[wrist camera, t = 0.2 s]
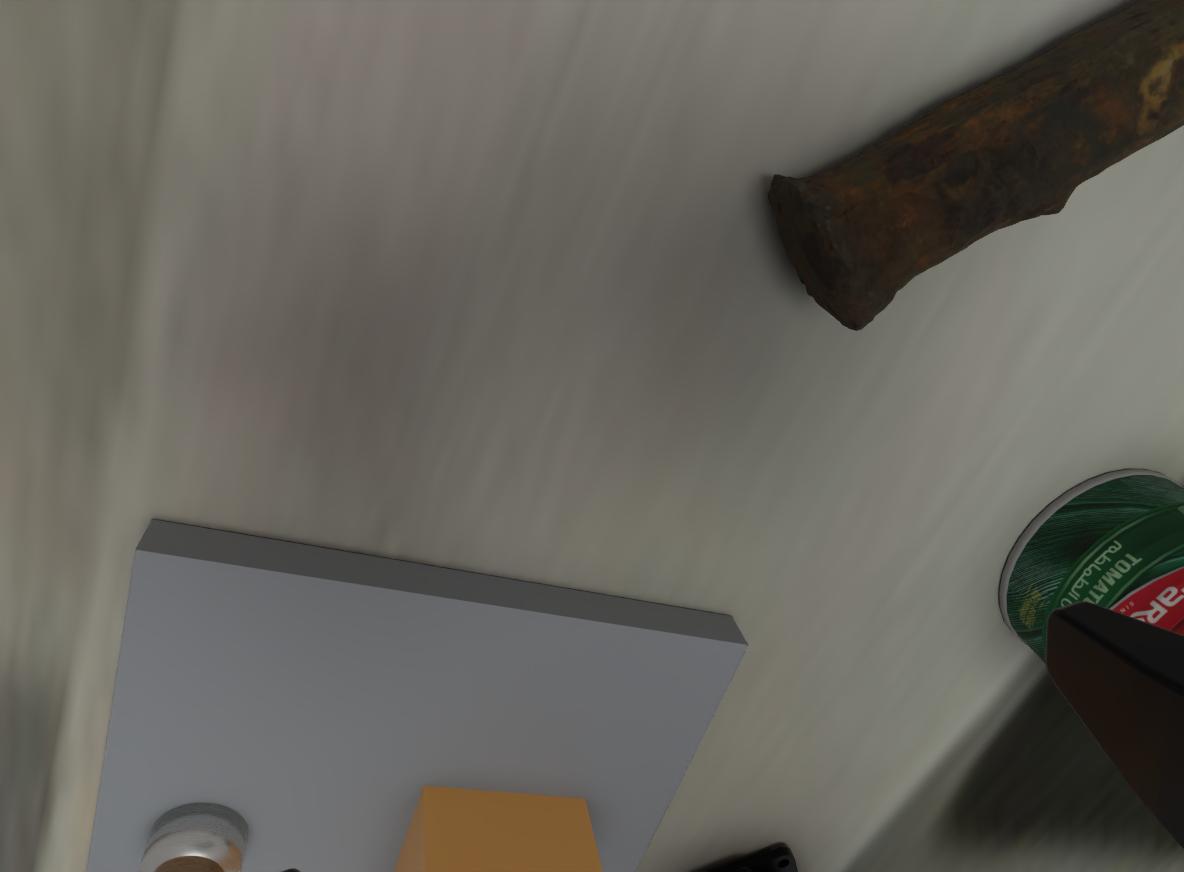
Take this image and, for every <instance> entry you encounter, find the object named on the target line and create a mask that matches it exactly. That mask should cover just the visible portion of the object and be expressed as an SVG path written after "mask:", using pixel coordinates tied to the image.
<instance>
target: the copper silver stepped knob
mask: <svg viewBox="0 0 1184 872" xmlns="http://www.w3.org/2000/svg"><path fill="white" fill-rule="evenodd" d="M248 837H249V828H248V825H247V823H246V821H245V820H244V818H243V817H242V816H241V815H240V814H239V813H237V812H236V811H234V810H233V809H231V808H228V807H226V806H223V805H219V804H215V803H204V802H202V803H190V804H185V805H182V806H178V807H176V808H173V809H171V810H169V811H168V812H166V813H164V814H163V815H162V816H161V817H160V818H158V820H157V821H156V822H155V823H154V825H153V827H152V830H151V832H150V835H149V838H148V842H147V845H146V848H145V851H144V854H143V857H142V860H141V863H140V866H139V869H138V872H242V867H243V862H244V857H245V852H246V847H247V842H248Z"/></svg>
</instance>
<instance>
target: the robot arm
mask: <svg viewBox="0 0 1184 872" xmlns="http://www.w3.org/2000/svg"><path fill="white" fill-rule="evenodd" d="M1045 660H1046V666H1047V670H1048V672H1049V675H1050V677H1051V679H1052V680H1053V682H1054V683H1055V685H1056V686H1057V688H1058V689H1059V690H1060V692H1061V693H1062V694H1063V696H1064V697H1065V698H1066V700H1067V701H1068V703H1069V704H1070V705H1071V707H1072V708H1073V709H1074V711H1075V712H1076V713H1077V715H1078V716H1079V718H1080V719H1081V720H1082V722H1083V723H1084V724H1085V726H1086V727H1087V729H1088V730H1089V731H1090V733H1091V734H1092V735H1093V737H1094V738H1095V739H1096V741H1097V742H1098V744H1099V745H1100V746H1101V748H1102V749H1103V750H1104V752H1105V753H1106V754H1107V756H1108V757H1109V759H1110V760H1111V761H1112V763H1113V764H1114V765H1115V767H1116V768H1117V770H1118V771H1119V772H1120V774H1121V775H1122V776H1123V778H1124V779H1125V780H1126V782H1127V783H1128V784H1129V785H1130V787H1131V788H1132V789H1133V791H1134V792H1135V793H1136V794H1137V796H1138V797H1139V798H1140V799H1141V801H1142V802H1143V803H1144V804H1145V805H1146V806H1147V808H1148V809H1149V810H1150V811H1151V812H1152V813H1153V815H1154V816H1155V817H1156V818H1157V819H1158V820H1159V821H1160V823H1161V824H1162V825H1163V826H1164V827H1165V828H1166V829H1167V830H1168V832H1169V833H1170V834H1171V835H1172V836H1173V837H1174V838H1175V839H1176V841H1177V842H1178V843H1179V844H1180V845H1181V846H1182V847H1183V848H1184V636H1183V635H1180V634H1178V633H1175V632H1172V631H1169V630H1166V629H1164V628H1161V627H1158V626H1155V625H1152V624H1150V623H1147V622H1144V621H1141V620H1138V619H1136V618H1133V617H1130V616H1127V615H1124V614H1122V613H1119V612H1116V611H1113V610H1110V609H1108V608H1105V607H1102V606H1099V605H1096V604H1094V603H1090V602H1085V601H1079V602H1075V603H1072V604H1069V605H1066V606H1063V607H1060V608H1057V609H1054V610H1053V611H1051V612H1050V614H1049V616H1048V618H1047V632H1046V657H1045ZM281 872H300V871H299V870H298V869H295V868H290V869H287V870H284V871H281ZM715 872H798V870H797V866H796V862H795V858H794V856H793V854H792V852H791V850H790V849H789V848H788V847H783V846H782V847H778V848H775V849H773V850H770V851H767V852H765V853H762V854H760V855H757V856H754V857H752V858H749V859H747V860H744V861H741V862H739V863H736V864H734V865H731V866H728V867H726V868H723V869H721V870H718V871H715Z"/></svg>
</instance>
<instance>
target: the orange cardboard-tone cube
mask: <svg viewBox="0 0 1184 872" xmlns="http://www.w3.org/2000/svg"><path fill="white" fill-rule="evenodd" d="M394 872H602V867H601V863H600V859H599V855H598V850H597V846H596V842H595V838H594V834H593V829H592V825H591V821H590V817H589V812H588V808H587V804H586V800H585V798H572V797H560V796H547V795H534V794H522V793H509V792H497V791H484V790H472V789H459V788H447V787H434V786H423V788H422V791H421V794H420V797H419V800H418V803H417V806H416V809H415V812H414V815H413V817H412V820H411V823H410V826H409V829H408V832H407V835H406V838H405V841H404V843H403V846H402V849H401V852H400V855H399V858H398V861H397V864H396V867H395V870H394Z"/></svg>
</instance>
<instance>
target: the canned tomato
mask: <svg viewBox="0 0 1184 872" xmlns="http://www.w3.org/2000/svg"><path fill="white" fill-rule="evenodd" d="M999 596H1000V609H1001V612H1002V615H1003V618H1004V621H1005V623H1006V624H1007V625H1008V627H1009V628H1010V630H1011V631H1012V633H1013V634H1014V635H1015V636H1016V637H1018V638H1019V639H1020V640H1022V641H1023V642H1024V643H1025V644H1027V645H1028V646H1029V647H1030V648H1031V649H1032V650H1033V651H1034V652H1035V653H1036V654H1037V655H1038V656H1039V657H1040V658H1041V659H1042V660H1043V661H1044V663H1045V664H1046V660H1045V657H1046V632H1047V618H1048V616H1049V614H1050V612H1051V611H1053V610H1054V609H1057V608H1060V607H1063V606H1066V605H1069V604H1072V603H1075V602H1079V601H1085V602H1090V603H1094V604H1096V605H1099V606H1102V607H1105V608H1108V609H1110V610H1113V611H1116V612H1119V613H1122V614H1124V615H1127V616H1130V617H1133V618H1136V619H1138V620H1141V621H1144V622H1147V623H1150V624H1152V625H1155V626H1158V627H1161V628H1164V629H1166V630H1169V631H1172V632H1175V633H1178V634H1180V635H1183V636H1184V488H1183V487H1182V486H1181V485H1180V484H1179V483H1178V482H1176V481H1174V480H1173V479H1171V478H1169V477H1167V476H1166V475H1164V474H1161V473H1158V472H1154V471H1150V470H1146V469H1126V470H1121V471H1116V472H1110V473H1106V474H1104V475H1101V476H1098V477H1096V478H1093V479H1090V480H1087V481H1085V482H1084V483H1082V484H1080V485H1078V486H1076V487H1074V488H1073V489H1071V490H1069V491H1067V492H1066V493H1065V494H1063V495H1062V496H1060V497H1059V498H1058V499H1056V500H1055V501H1054V502H1052V503H1051V504H1050V505H1049V506H1048V507H1046V508H1045V509H1044V510H1043V511H1042V512H1041V513H1040V514H1039V515H1038V516H1037V517H1036V518H1035V519H1034V520H1033V521H1032V522H1031V524H1030V525H1029V526H1028V528H1027V529H1026V530H1025V531H1024V533H1023V534H1022V535H1021V536H1020V538H1019V539H1018V541H1017V543H1016V545H1015V546H1014V548H1013V550H1012V552H1011V553H1010V555H1009V557H1008V560H1007V563H1006V565H1005V568H1004V571H1003V573H1002V579H1001V585H1000V590H999Z"/></svg>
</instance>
